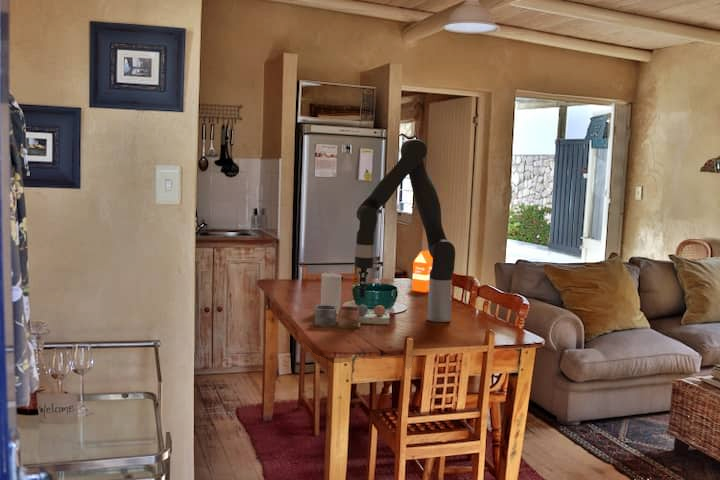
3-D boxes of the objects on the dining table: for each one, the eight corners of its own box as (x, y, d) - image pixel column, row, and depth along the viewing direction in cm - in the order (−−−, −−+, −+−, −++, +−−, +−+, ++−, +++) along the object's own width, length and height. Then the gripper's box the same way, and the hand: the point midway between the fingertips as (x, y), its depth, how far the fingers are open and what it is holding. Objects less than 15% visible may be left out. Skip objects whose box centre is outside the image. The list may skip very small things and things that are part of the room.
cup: (337, 315, 286) (338, 277, 284) (318, 313, 287) (319, 275, 286) (341, 311, 294) (343, 274, 292) (323, 309, 295) (324, 272, 294)
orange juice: (433, 289, 351) (435, 250, 349) (425, 292, 344) (427, 252, 341) (419, 287, 355) (421, 249, 353) (411, 290, 348) (413, 250, 346)
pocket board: (388, 318, 283) (389, 312, 283) (389, 324, 274) (389, 318, 273) (352, 317, 283) (352, 311, 283) (351, 322, 274) (351, 316, 274)
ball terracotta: (384, 315, 280) (385, 304, 280) (385, 317, 276) (385, 306, 275) (373, 314, 280) (374, 303, 280) (373, 317, 276) (374, 306, 275)
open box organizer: (360, 323, 274) (360, 306, 273) (359, 328, 265) (360, 311, 264) (314, 321, 274) (315, 304, 273) (312, 326, 265) (313, 309, 264)
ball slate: (367, 314, 281) (368, 303, 280) (367, 317, 276) (367, 306, 276) (356, 314, 281) (356, 303, 280) (356, 316, 276) (356, 305, 276)
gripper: (373, 258, 268) (371, 299, 270) (373, 253, 283) (371, 292, 284) (354, 257, 269) (352, 298, 270) (355, 252, 283) (353, 291, 285)
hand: (362, 295), depth 277 cm, fingers open, 8 cm apart
